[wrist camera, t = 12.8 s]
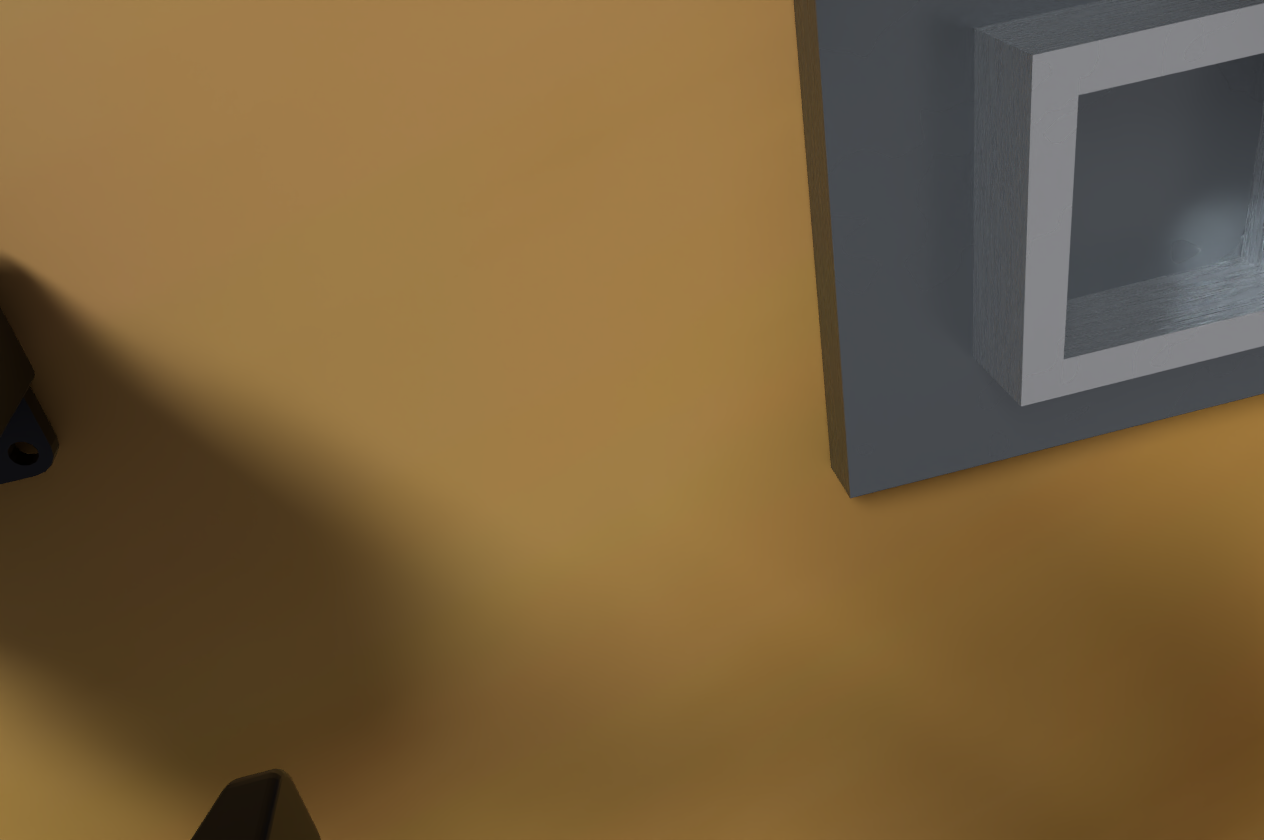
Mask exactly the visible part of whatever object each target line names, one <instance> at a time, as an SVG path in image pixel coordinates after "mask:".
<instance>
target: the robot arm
mask: <svg viewBox="0 0 1264 840" xmlns="http://www.w3.org/2000/svg"><path fill="white" fill-rule="evenodd" d="M34 375H35V374H34V370H33V368H32V366H31V364H30V362H29V360H28V358H27V357H26V355H25V353H24V351H23V349H22V347H21V345H20V343H19V342H18V340H17V338H16V336H15V334H14V332H13V330H12V328H11V326H10V325H9V323H8V321H7V319H6V317H5V315H4V313H3V311H2V310H1V308H0V484H3V483H8V482H12V481H16V480H20V479H24V478H29V477H33V476H36V475H39V474H41V473H43V472H45V471H46V470H47V469H48V468H49V467H50V466H51V465H52V463H53V461H54V459H55V456H56V454H57V451H58V447H59V443H58V439H57V436H56V434H55V432H54V430H53V428H52V426H51V425H50V423H49V421H48V419H47V417H46V415H45V413H44V412H43V410H42V408H41V406H40V404H39V402H38V400H37V399H36V397H35V395H34V393H33V391H32V389H31V387H30V384H31V382H32V380H33V378H34ZM16 442H26V443H29V444H31V445H33V446H34V447H35V448H36V449H37V450H38V453H36V454H27V453H24V452H22V451H20V450H19V449H18V448H17V447H16V446H15V443H16ZM191 840H321V839H320V836H319V833H318V831H317V829H316V827H315V825H314V823H313V821H312V819H311V817H310V815H309V813H308V811H307V809H306V807H305V805H304V803H303V801H302V799H301V797H300V795H299V793H298V791H297V789H296V786H295V784H294V782H293V781H292V779H291V777H290V776H289V775H288V774H287V773H286V772H285V771H284V770H282V769H272V770H268V771H264V772H261V773H257V774H253V775H249V776H245V777H242V778H238V779H235V780H233V781H232V782H230V783H229V784H228V785H227V786H226V787H225V788H224V790H223V791H222V792H221V794H220V796H219V797H218V799H217V800H216V802H215V803H214V805H213V806H212V808H211V809H210V811H209V812H208V814H207V815H206V817H205V819H204V820H203V822H202V823H201V825H200V826H199V828H198V829H197V831H196V832H195V834H194V835H193V837H192V838H191Z"/></svg>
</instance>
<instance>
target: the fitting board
mask: <svg viewBox="0 0 1264 840" xmlns="http://www.w3.org/2000/svg"><path fill="white" fill-rule="evenodd" d="M794 10H795V22H796V35H797V47H798V60H799V72H800V85H801V97H802V110H803V122H804V135H805V147H806V159H807V172H808V184H809V197H810V209H811V222H812V234H813V247H814V259H815V272H816V284H817V296H818V309H819V321H820V334H821V346H822V359H823V371H824V384H825V396H826V409H827V421H828V433H829V446H830V458H831V468H832V470H833V471H834V473H835V474H836V476H837V478H838V479H839V481H840V482H841V484H842V486H843V487H844V489H845V490H846V492H847V494H848V495H849V497H850V498H853V497H857V496H861V495H865V494H869V493H873V492H876V491H880V490H884V489H888V488H892V487H896V486H900V485H904V484H908V483H912V482H916V481H920V480H924V479H928V478H932V477H936V476H940V475H944V474H948V473H952V472H955V471H959V470H963V469H967V468H971V467H975V466H979V465H983V464H987V463H991V462H995V461H999V460H1003V459H1007V458H1011V457H1015V456H1019V455H1023V454H1027V453H1030V452H1034V451H1038V450H1042V449H1046V448H1050V447H1054V446H1058V445H1062V444H1066V443H1070V442H1074V441H1078V440H1082V439H1086V438H1090V437H1094V436H1098V435H1102V434H1105V433H1109V432H1113V431H1117V430H1121V429H1125V428H1129V427H1133V426H1137V425H1141V424H1145V423H1149V422H1153V421H1157V420H1161V419H1165V418H1169V417H1173V416H1177V415H1181V414H1184V413H1188V412H1192V411H1196V410H1200V409H1204V408H1208V407H1212V406H1216V405H1220V404H1224V403H1228V402H1232V401H1236V400H1240V399H1244V398H1248V397H1252V396H1256V395H1259V394H1263V393H1264V0H794Z"/></svg>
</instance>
